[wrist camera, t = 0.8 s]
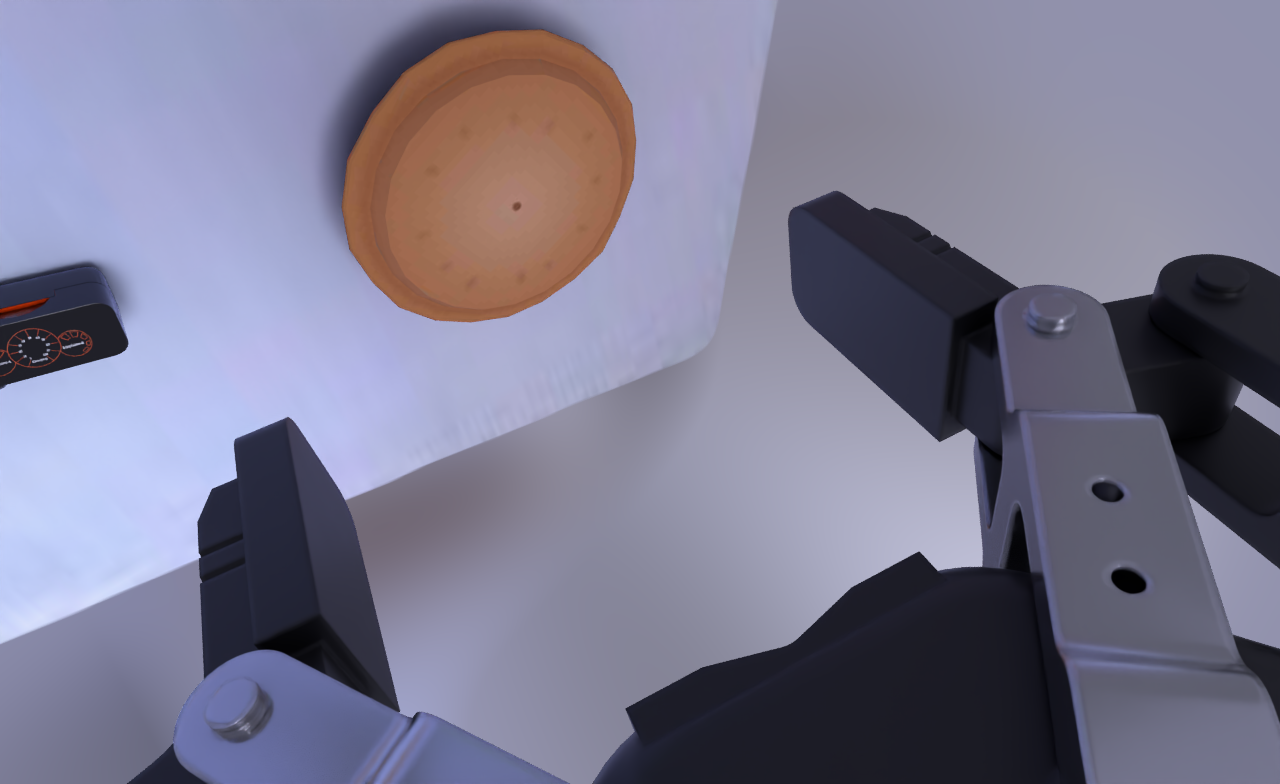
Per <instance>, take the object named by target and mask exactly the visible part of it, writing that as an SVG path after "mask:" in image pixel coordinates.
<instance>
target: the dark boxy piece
mask: <svg viewBox="0 0 1280 784" xmlns="http://www.w3.org/2000/svg"><path fill="white" fill-rule="evenodd" d="M127 347H128V339H127V336H126V332H125V329H124V325H123V322H122V319H121V315H120V312H119V308H118V305H117V303H116V301H115V299H114V296H113V294H112V292H111V290H110V287H109V285H108V283H107V281H106V279H105V277H104V275H103V274H102V273H101V272H100V271H99V270H98V269H96V268H93V267H80V268H76V269H72V270H67V271H63V272H58V273H54V274H49V275H45V276H40V277H36V278H31V279H27V280H22V281H18V282H13V283H9V284H4V285H0V389H2V388H4V387H5V386H6V385H7V384H11V383H14V382H18V381H22V380H25V379H29V378H33V377H37V376H40V375H44V374H48V373H51V372H55V371H59V370H63V369H66V368H70V367H74V366H78V365H81V364H85V363H89V362H92V361H96V360H100V359H104V358H107V357H111V356H115V355H118V354H120V353H122V352H123V351H125V350H126V348H127Z"/></svg>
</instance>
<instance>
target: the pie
mask: <svg viewBox="0 0 1280 784" xmlns="http://www.w3.org/2000/svg"><path fill="white" fill-rule="evenodd" d="M635 149H636V136H635V127H634V119H633V110H632V104H631V102H630V100H629V98H628V96H627V94H626V93H625V91H624V89H623V87H622V85H621V83H620V82H619V80H618V78H617V76H616V74H615V72H614V70H613V69H612V68H611V67H610V66H608V65H607V64H606V63H605V62H603V61H602V60H601V59H600V58H599V57H597V56H596V55H595V54H594V53H592V52H591V51H590V50H589V49H587V48H586V47H585V46H584V45H581V44H579V43H576V42H574V41H571V40H568V39H566V38H563V37H561V36H558V35H556V34H553V33H550V32H548V31H545V30H543V29H541V30H509V31H493V32H489V33H485V34H481V35H476V36H472V37H468V38H464V39H460V40H456V41H452V42H448V43H446V44H445V45H443V46H442V47H440V48H439V49H437V50H436V51H434V52H433V53H431V54H430V55H428V56H427V57H425V58H424V59H422V60H421V61H419V62H418V63H416V64H415V65H413V66H412V67H410V68H409V69H407V70H406V71H404V72H403V73H402V75H401V76H400V77H399V78H398V80H397V81H396V82H395V83H394V85H393V86H392V87H391V88H390V90H389V91H388V92H387V94H386V95H385V96H384V97H383V99H382V100H381V101H380V102H379V104H378V105H377V106H376V108H375V109H374V110H373V111H372V113H371V115H370V116H369V118H368V120H367V122H366V124H365V126H364V128H363V130H362V132H361V134H360V136H359V138H358V140H357V142H356V144H355V145H354V147H353V149H352V151H351V153H350V155H349V157H348V159H347V167H346V175H345V183H344V192H343V200H342V212H343V217H344V223H345V228H346V233H347V239H348V244H349V249H350V251H351V252H352V254H353V255H354V256H355V258H356V259H357V261H358V262H359V264H360V265H361V266H362V268H363V269H364V271H365V272H366V274H367V275H368V277H369V278H370V279H371V281H372V282H373V283H374V284H375V285H376V286H377V287H378V288H379V289H380V290H381V291H382V292H383V293H384V294H385V295H387V296H388V297H389V298H390V299H391V300H392V301H393V302H394V303H395V304H396V305H397V306H398V307H400V308H402V309H405V310H408V311H411V312H414V313H416V314H419V315H422V316H425V317H427V318H430V319H433V320H439V321H457V322H476V321H483V320H490V319H497V318H503V317H509V316H511V315H513V314H516V313H518V312H520V311H522V310H524V309H527V308H529V307H531V306H533V305H536V304H538V303H540V302H542V301H544V300H545V299H547V298H548V297H550V296H551V295H552V294H554V293H555V292H557V291H558V290H559V289H561V288H562V287H564V286H565V285H567V284H568V283H569V282H571V281H572V280H574V279H575V278H576V277H577V276H578V275H579V274H580V273H581V272H582V271H583V270H584V269H585V268H586V267H587V266H588V265H589V264H590V263H591V262H592V261H593V260H594V259H595V258H596V257H597V256H598V255H599V254H601V253H602V252H603V250H604V248H605V246H606V244H607V242H608V240H609V238H610V236H611V234H612V231H613V229H614V227H615V225H616V223H617V221H618V219H619V217H620V215H621V212H622V209H623V206H624V204H625V201H626V198H627V195H628V193H629V190H630V187H631V184H632V181H633V177H634V163H635Z"/></svg>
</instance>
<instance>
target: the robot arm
mask: <svg viewBox="0 0 1280 784" xmlns="http://www.w3.org/2000/svg"><path fill="white" fill-rule="evenodd" d="M788 227H789V245H790V262H791V279H792V291H793V296H794V299H795V302H796V304H797V307H798V309H799V311H800V313H801V314H802V316H803V317H804V319H805V320H806V321H807V322H808V323H809V324H810V325H811V326H812V327H813V328H814V329H815V330H816V331H817V332H818V333H819V334H821V335H822V336H823V337H824V338H825V339H826V340H827V341H828V342H830V343H831V344H832V345H833V346H834V347H835V348H836V349H837V350H838V351H840V352H841V353H842V354H843V355H844V356H845V357H846V358H847V359H848V360H849V361H850V362H852V363H853V364H854V365H855V366H856V367H857V368H858V369H859V370H860V371H862V372H863V373H864V374H865V375H866V376H867V377H868V378H869V379H870V380H872V381H873V382H874V383H875V384H876V385H877V386H878V387H879V388H880V389H881V390H883V391H884V392H885V393H886V394H887V395H888V396H889V397H890V398H891V399H893V400H894V401H895V402H896V403H897V404H898V405H899V406H900V407H901V408H902V409H904V410H905V411H906V412H907V413H908V414H909V415H910V416H911V417H912V418H914V419H915V420H916V421H917V422H918V423H919V424H920V425H921V426H922V427H924V428H925V429H926V430H927V431H928V432H929V433H930V434H931V435H932V436H933V437H935V438H936V439H937V440H938V441H939V442H941V441H943V440H945V439H947V438H949V437H950V436H953V435H955V434H956V433H958V432H960V431H962V430H964V429H966V428H967V429H968V430H969V431H970V432H971V433H972V434H974V435H975V436H976V437H975V444H974V461H975V471H976V482H977V493H978V503H979V514H980V525H981V535H982V547H983V566H982V567H961V568H953V569H945V570H940V571H937V570H936V569H935V568H934V567H933V566H932V565H931V563H930V562H929V561H928V560H927V559H926V558H925V557H924V556H923V555H922V554H921V553H920V552H917V553H915V554H913V555H911V556H910V557H908V558H906V559H904V560H902V561H900V562H899V563H897V564H895V565H893V566H891V567H889V568H887V569H885V570H883V571H882V572H880V573H878V574H876V575H874V576H872V577H871V578H869V579H867V580H865V581H863V582H861V583H859V584H857V585H856V586H854V587H852V588H851V589H850V590H848V591H847V592H846V593H845V594H844V595H843V596H842V597H841V598H840V599H839V600H838V601H837V602H836V603H835V604H834V605H833V606H832V607H831V608H830V609H829V610H828V611H826V612H825V613H824V614H823V615H822V616H821V617H820V618H819V619H818V620H817V621H816V622H815V623H814V624H813V625H812V626H811V627H810V628H809V629H807V630H806V632H804V633H803V634H802V635H801V636H800V637H799V638H798V639H797V640H796V641H794V642H793V643H791V644H789V645H787V646H784V647H782V648H777V649H773V650H769V651H765V652H762V653H757V654H754V655H750V656H746V657H742V658H738V659H734V660H730V661H726V662H722V663H718V664H714V665H710V666H706V667H702V668H700V669H699V670H697V671H695V672H693V673H691V674H689V675H687V676H685V677H684V678H682V679H680V680H678V681H676V682H674V683H672V684H670V685H669V686H667V687H665V688H663V689H661V690H659V691H657V692H655V693H654V694H652V695H650V696H648V697H646V698H644V699H642V700H641V701H639V702H637V703H635V704H633V705H631V706H629V707H627V708H626V711H627V714H628V716H629V719H630V721H631V724H632V726H633V729H634V731H635V732H634V733H633V734H632V735H631V736H630V737H629V738H628V739H627V740H626V741H625V742H624V743H623V744H621V745H620V747H619V748H618V749H617V750H616V751H615V753H614V754H613V755H612V756H611V757H610V758H609V760H608V761H607V762H606V763H605V765H604V767H603V768H602V770H601V771H600V773H599V774H598V776H597V777H596V779H595V780H594V782H593V784H1280V649H1279V648H1275V647H1272V646H1269V645H1265V644H1262V643H1259V642H1255V641H1252V640H1249V639H1245V638H1242V637H1239V636H1236V635H1232V632H1231V628H1230V626H1229V622H1228V619H1227V616H1226V613H1225V610H1224V607H1223V603H1222V600H1221V597H1220V594H1219V591H1218V588H1217V585H1216V582H1215V579H1214V575H1213V572H1212V569H1211V566H1210V563H1209V560H1208V557H1207V554H1206V551H1205V547H1204V544H1203V541H1202V538H1201V535H1200V532H1199V529H1198V526H1197V523H1196V519H1195V516H1194V513H1193V510H1192V507H1191V504H1190V501H1189V498H1188V495H1189V496H1190V497H1191V498H1193V499H1194V500H1195V501H1196V502H1198V503H1199V504H1200V505H1201V506H1202V507H1204V508H1205V509H1206V510H1207V511H1209V512H1210V513H1211V514H1212V515H1214V516H1215V517H1216V518H1217V519H1219V520H1220V521H1221V522H1222V523H1223V524H1225V525H1226V526H1227V527H1229V528H1230V529H1231V530H1232V531H1233V532H1235V533H1236V534H1237V535H1238V536H1240V537H1241V538H1242V539H1243V540H1244V541H1246V542H1247V543H1248V544H1249V545H1251V546H1252V547H1253V548H1255V549H1256V550H1257V551H1258V552H1259V553H1261V554H1262V555H1263V556H1264V557H1266V558H1267V559H1268V560H1269V561H1271V562H1272V563H1273V564H1274V565H1276V566H1277V567H1278V568H1279V569H1280V436H1279V435H1278V434H1277V433H1275V432H1274V431H1272V430H1271V429H1269V428H1268V427H1266V426H1265V425H1263V424H1262V423H1260V422H1259V421H1257V420H1256V419H1254V418H1253V417H1252V416H1250V415H1249V414H1247V413H1246V412H1244V411H1243V410H1241V409H1240V408H1238V407H1237V406H1235V405H1234V404H1235V402H1236V400H1237V398H1238V395H1239V393H1240V391H1241V389H1242V386H1243V384H1244V385H1245V386H1247V387H1249V388H1250V389H1252V390H1253V391H1255V392H1256V393H1258V394H1259V395H1261V396H1262V397H1264V398H1265V399H1267V400H1268V401H1270V402H1271V403H1273V404H1275V405H1276V406H1278V407H1279V408H1280V276H1278V275H1276V274H1274V273H1272V272H1270V271H1268V270H1266V269H1265V268H1262V267H1261V266H1258V265H1256V264H1254V263H1252V262H1249V261H1246V260H1243V259H1239V258H1235V257H1231V256H1224V255H1214V254H1204V255H1203V254H1201V255H1191V256H1186V257H1182V258H1179V259H1177V260H1174V261H1172V262H1170V263H1168V264H1167V265H1166V266H1165V267H1164V268H1163V269H1162V270H1161V272H1160V274H1159V277H1158V280H1157V284H1156V287H1155V290H1154V293H1153V294H1151V295H1146V296H1140V297H1135V298H1129V299H1124V300H1119V301H1113V302H1108V303H1103V304H1101V303H1099V302H1098V301H1097V300H1096V299H1094V298H1093V297H1091V296H1090V295H1088V294H1085V293H1083V292H1081V291H1078V290H1075V289H1072V288H1068V287H1064V286H1055V285H1034V286H1028V287H1024V288H1020V289H1019V288H1018V287H1016V286H1015V285H1013V284H1011V283H1010V282H1008V281H1007V280H1005V279H1003V278H1002V277H1000V276H999V275H997V274H996V273H994V272H993V271H991V270H990V269H988V268H986V267H985V266H983V265H982V264H980V263H979V262H977V261H975V260H974V259H972V258H971V257H969V256H968V255H966V254H965V253H963V252H961V251H960V250H958V249H956V248H955V247H954V248H951V247H950V244H949V243H947V242H945V241H944V240H943V239H941V238H939V237H938V236H936V235H933V236H932V235H931V233H930V231H929V230H927V229H925V228H924V227H922V226H921V225H919V224H918V223H916V222H915V221H913V220H911V219H910V218H908V217H907V216H903V215H899V214H896V213H892V212H889V211H885V210H881V209H878V208H873V209H871V210H867V209H866V208H864V207H863V206H861V205H860V204H858V203H857V202H855V201H854V200H852V199H851V198H849V197H848V196H846V195H845V194H843V193H841V192H839V191H833V192H831V193H828V194H826V195H823V196H821V197H819V198H816V199H814V200H811V201H809V202H806V203H804V204H802V205H799V206H797V207H795V208H793V209H792V210H791V211H790V214H789V218H788ZM234 451H235V461H236V471H237V479H234V480H232V481H230V482H227V483H225V484H223V485H220V486H218V487H216V488H213V489H212V490H211V492H210V495H209V497H208V499H207V502H206V504H205V506H204V508H203V511H202V513H201V515H200V518H199V520H198V522H197V523H198V546H199V554H200V555H201V558H199V570H200V578H201V580H202V583H201V584H200V593H201V616H202V640H203V663H204V680H203V681H202V682H201V683H200V684H199V685H198V686H197V687H196V688H195V690H194V691H193V692H192V693H191V695H190V696H189V698H188V699H187V701H186V703H185V704H184V706H183V708H182V710H181V712H180V714H179V716H178V719H177V722H176V725H175V730H174V737H173V742H174V743H173V744H172V745H171V746H170V747H169V748H168V749H167V750H166V751H165V753H164V754H162V755H161V756H160V757H159V758H158V759H157V760H156V761H155V762H154V763H152V764H151V765H150V766H148V767H147V768H146V769H145V770H144V771H142V772H141V773H140V774H139V775H137V776H136V777H135V778H134V779H132V780H131V781H130V782H129V783H127V784H570V783H568V782H566V781H563V780H561V779H560V778H558V777H555V776H554V775H552V774H550V773H548V772H546V771H544V770H542V769H540V768H538V767H536V766H534V765H532V764H530V763H528V762H526V761H524V760H522V759H520V758H518V757H516V756H514V755H512V754H510V753H508V752H506V751H504V750H502V749H500V748H498V747H496V746H495V745H493V744H491V743H489V742H486V741H484V740H483V739H481V738H479V737H477V736H475V735H473V734H471V733H469V732H467V731H465V730H463V729H461V728H459V727H457V726H455V725H453V724H451V723H449V722H447V721H445V720H443V719H441V718H439V717H437V716H434V715H432V714H429V713H425V712H417V713H416V714H415V715H414V717H413V718H411V717H407V716H405V715H402V714H400V713H399V712H400V709H399V705H398V701H397V697H396V693H395V689H394V685H393V681H392V677H391V672H390V668H389V664H388V660H387V656H386V652H385V648H384V644H383V639H382V636H381V631H380V627H379V623H378V619H377V615H376V611H375V607H374V603H373V598H372V594H371V590H370V586H369V582H368V578H367V574H366V569H365V566H364V562H363V557H362V553H361V549H360V545H359V541H358V537H357V532H356V528H355V525H354V522H353V519H352V516H351V513H350V511H349V508H348V506H347V504H346V502H345V500H344V498H343V496H342V494H341V492H340V490H339V489H338V487H337V485H336V484H335V482H334V481H333V479H332V478H331V476H330V475H329V473H328V472H327V470H326V469H325V467H324V466H323V464H322V463H321V461H320V460H319V458H318V457H317V455H316V454H315V452H314V451H313V449H312V447H311V446H310V444H309V443H308V441H307V440H306V438H305V437H304V435H303V434H302V432H301V431H300V429H299V428H298V426H297V425H296V424H295V422H294V421H293V420H292V419H290V418H289V417H287V418H285V419H282V420H280V421H278V422H275V423H273V424H270V425H268V426H266V427H263V428H261V429H258V430H256V431H254V432H251V433H249V434H246V435H244V436H242V437H239V438H237V439H235V441H234Z"/></svg>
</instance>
